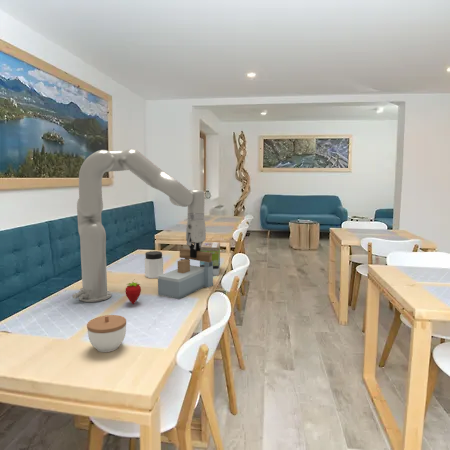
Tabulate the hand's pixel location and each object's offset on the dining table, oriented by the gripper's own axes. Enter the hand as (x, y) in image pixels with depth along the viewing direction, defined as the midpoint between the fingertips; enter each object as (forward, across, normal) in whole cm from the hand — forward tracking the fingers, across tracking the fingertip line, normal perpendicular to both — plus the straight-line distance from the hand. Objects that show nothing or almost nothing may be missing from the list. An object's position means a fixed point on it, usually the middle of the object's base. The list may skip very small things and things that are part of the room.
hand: (195, 256), depth 164 cm
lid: (+6, -10, 0) cm, 11 cm away
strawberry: (+14, -33, +6) cm, 37 cm away
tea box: (+13, +23, +5) cm, 27 cm away
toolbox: (+13, -9, -1) cm, 16 cm away
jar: (+14, +2, +25) cm, 29 cm away
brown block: (+1, 0, 0) cm, 1 cm away
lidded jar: (+14, -64, -12) cm, 67 cm away
